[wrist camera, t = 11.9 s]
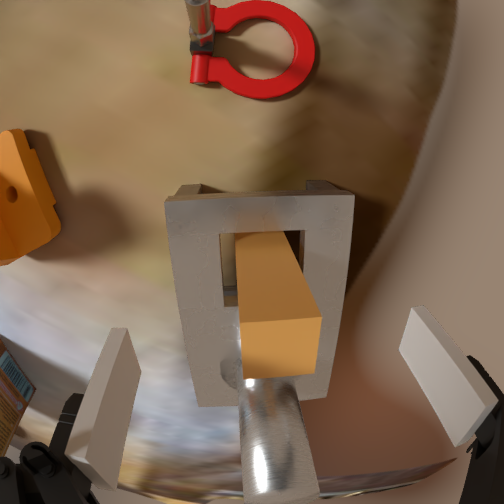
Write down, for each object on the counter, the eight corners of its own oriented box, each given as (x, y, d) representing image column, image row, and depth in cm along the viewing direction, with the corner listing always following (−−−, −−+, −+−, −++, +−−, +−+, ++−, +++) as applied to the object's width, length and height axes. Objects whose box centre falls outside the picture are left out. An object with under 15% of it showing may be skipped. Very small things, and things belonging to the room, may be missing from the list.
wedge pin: (234, 218, 26) (239, 322, 13) (276, 217, 26) (322, 316, 13) (235, 258, 27) (243, 379, 14) (276, 256, 27) (314, 373, 14)
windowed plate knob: (178, 183, 24) (85, 316, 8) (327, 178, 25) (477, 287, 8) (201, 364, 32) (193, 523, 15) (313, 356, 32) (359, 505, 16)
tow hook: (314, 13, 19) (199, 0, 18) (393, -51, 8) (190, -89, 6) (306, 105, 23) (188, 95, 21) (391, 100, 11) (161, 70, 10)
